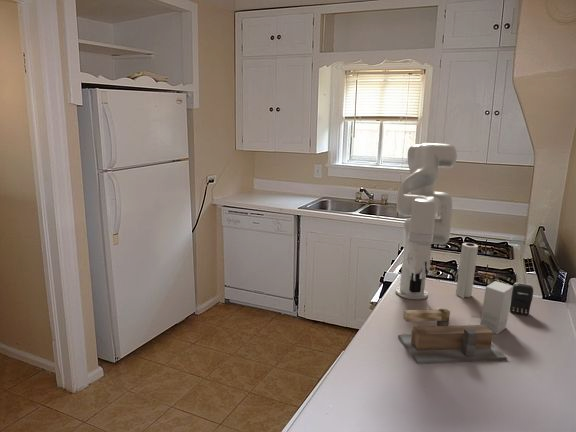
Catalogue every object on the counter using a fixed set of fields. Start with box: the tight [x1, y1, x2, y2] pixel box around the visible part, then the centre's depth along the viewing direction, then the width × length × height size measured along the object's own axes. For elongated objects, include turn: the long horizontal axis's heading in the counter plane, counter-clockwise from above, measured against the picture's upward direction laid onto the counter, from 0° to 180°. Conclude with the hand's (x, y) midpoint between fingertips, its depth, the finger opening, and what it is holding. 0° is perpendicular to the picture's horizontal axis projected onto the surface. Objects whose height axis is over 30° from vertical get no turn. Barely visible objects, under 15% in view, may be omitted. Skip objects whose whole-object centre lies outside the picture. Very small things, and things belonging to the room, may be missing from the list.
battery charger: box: [509, 282, 534, 316], centre depth 173 cm, size 7×4×11 cm, turn 67°
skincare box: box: [479, 280, 513, 335], centre depth 159 cm, size 8×7×16 cm
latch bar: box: [403, 308, 451, 323], centre depth 150 cm, size 15×4×3 cm, turn 98°
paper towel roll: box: [455, 242, 479, 299], centre depth 187 cm, size 7×6×21 cm
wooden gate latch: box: [397, 320, 508, 364], centre depth 145 cm, size 16×28×9 cm, turn 98°
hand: (414, 291), depth 153 cm, fingers closed
